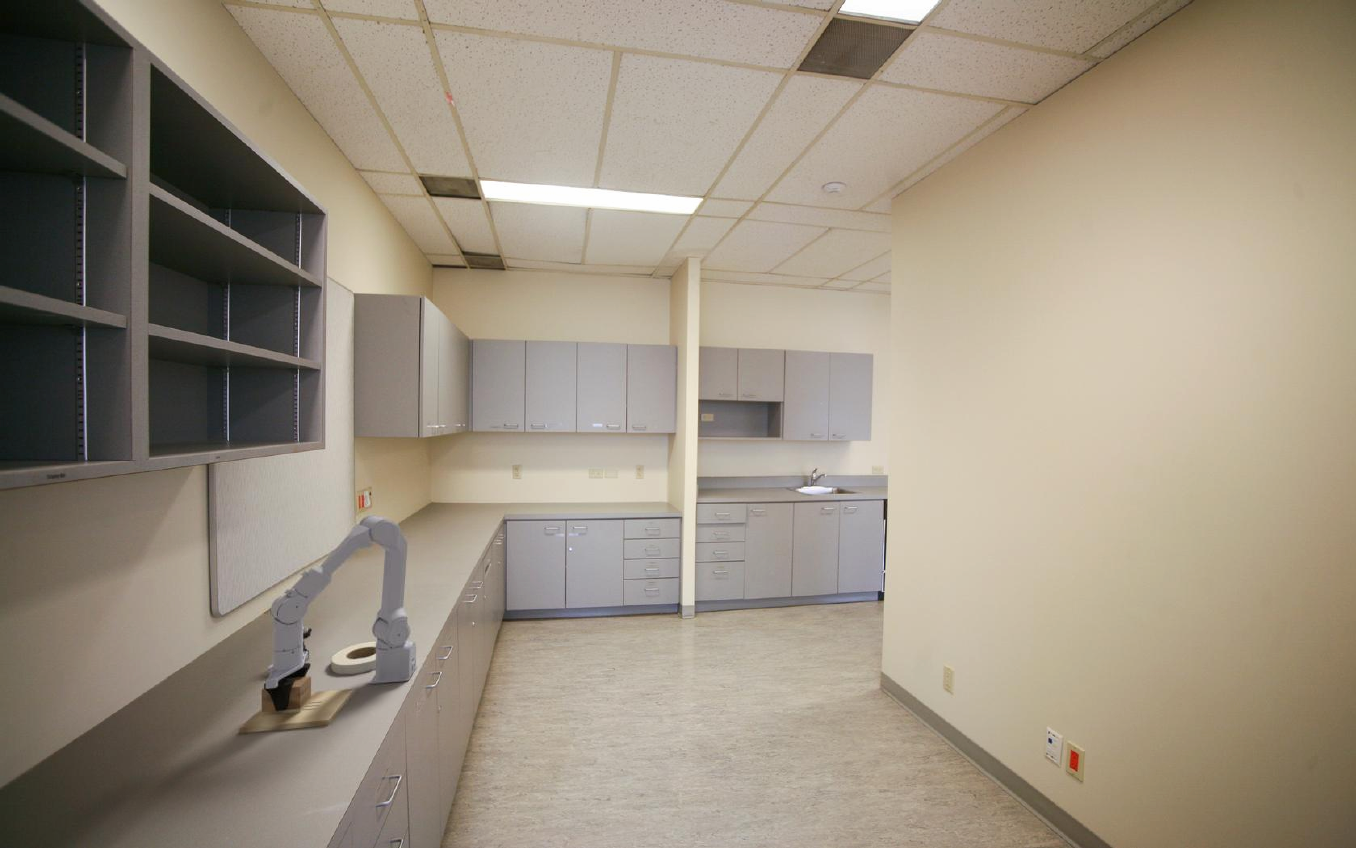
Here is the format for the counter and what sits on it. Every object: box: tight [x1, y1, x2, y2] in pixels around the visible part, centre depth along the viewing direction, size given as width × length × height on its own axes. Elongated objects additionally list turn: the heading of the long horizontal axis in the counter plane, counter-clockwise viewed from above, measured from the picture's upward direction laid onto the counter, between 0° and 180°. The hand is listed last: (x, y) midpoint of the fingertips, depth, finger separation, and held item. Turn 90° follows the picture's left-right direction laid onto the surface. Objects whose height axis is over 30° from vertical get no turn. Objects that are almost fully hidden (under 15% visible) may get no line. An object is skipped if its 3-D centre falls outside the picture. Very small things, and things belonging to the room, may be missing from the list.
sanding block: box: [261, 676, 312, 716], centre depth 124 cm, size 8×5×6 cm, turn 101°
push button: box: [303, 625, 313, 663], centre depth 148 cm, size 7×5×10 cm
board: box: [238, 688, 355, 734], centre depth 124 cm, size 18×14×1 cm
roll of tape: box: [330, 640, 377, 675], centre depth 151 cm, size 16×15×3 cm
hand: (288, 703), depth 124 cm, fingers closed on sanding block, 5 cm apart
